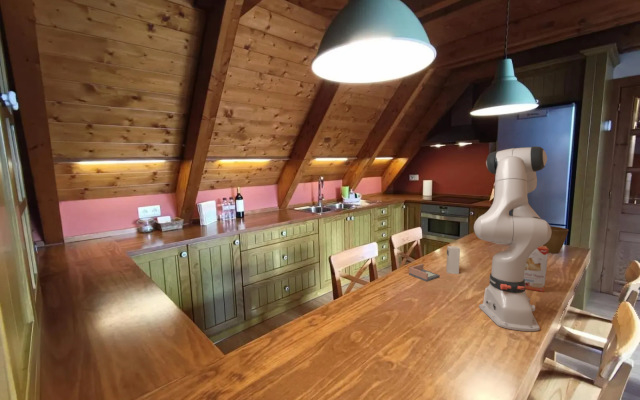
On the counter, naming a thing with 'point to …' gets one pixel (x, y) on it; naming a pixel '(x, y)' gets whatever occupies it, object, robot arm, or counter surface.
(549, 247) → the plant pot
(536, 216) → the robot arm
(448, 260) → the painted block
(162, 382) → the counter surface
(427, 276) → the corner arena
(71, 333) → the counter surface
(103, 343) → the counter surface
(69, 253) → the counter surface
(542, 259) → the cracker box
